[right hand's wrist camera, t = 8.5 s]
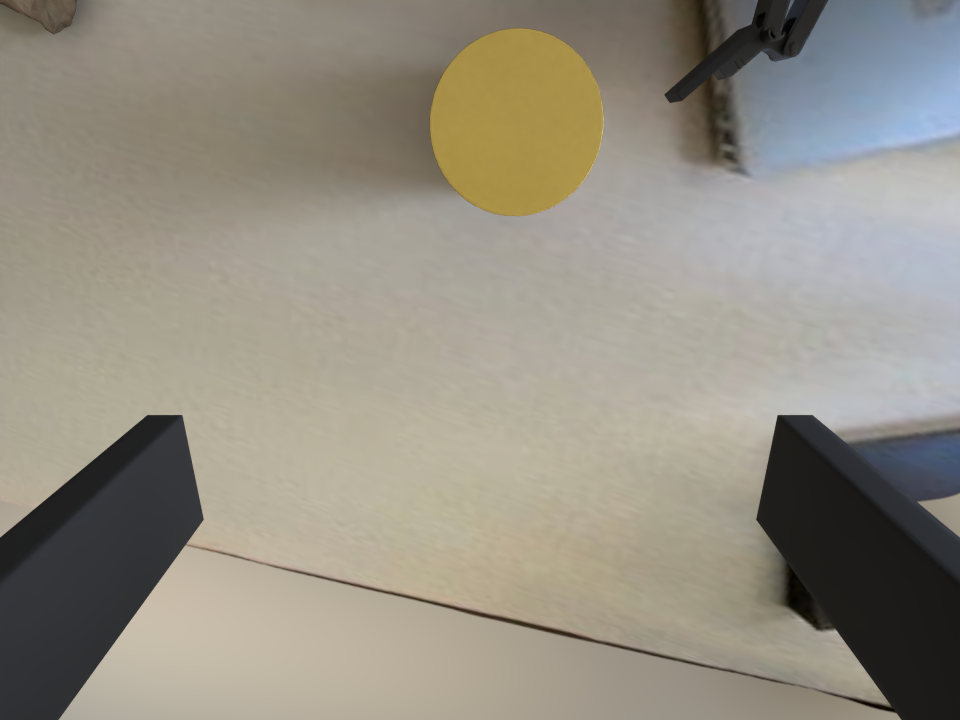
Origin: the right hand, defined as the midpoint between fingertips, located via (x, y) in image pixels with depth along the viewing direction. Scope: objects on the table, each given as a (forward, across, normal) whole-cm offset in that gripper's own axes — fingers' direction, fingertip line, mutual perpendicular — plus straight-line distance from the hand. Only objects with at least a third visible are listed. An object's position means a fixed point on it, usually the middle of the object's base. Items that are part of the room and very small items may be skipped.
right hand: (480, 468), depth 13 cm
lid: (+26, +2, +8) cm, 27 cm away
